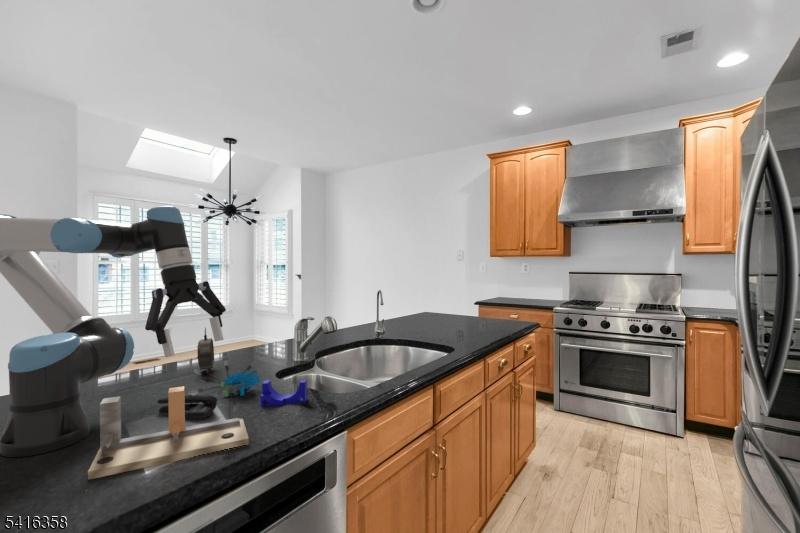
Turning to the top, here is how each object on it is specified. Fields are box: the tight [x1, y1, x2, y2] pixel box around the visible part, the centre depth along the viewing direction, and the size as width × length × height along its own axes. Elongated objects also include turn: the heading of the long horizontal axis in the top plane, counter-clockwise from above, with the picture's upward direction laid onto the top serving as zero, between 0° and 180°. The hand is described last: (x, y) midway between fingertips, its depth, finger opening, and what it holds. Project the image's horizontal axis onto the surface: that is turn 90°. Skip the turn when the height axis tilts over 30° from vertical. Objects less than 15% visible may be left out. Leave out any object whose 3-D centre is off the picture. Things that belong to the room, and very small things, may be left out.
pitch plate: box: [87, 396, 250, 481], centre depth 83 cm, size 28×12×12 cm, turn 118°
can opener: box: [156, 393, 218, 421], centre depth 102 cm, size 18×7×6 cm, turn 76°
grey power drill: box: [196, 327, 215, 375], centre depth 141 cm, size 11×5×16 cm, turn 22°
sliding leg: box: [167, 385, 186, 443], centre depth 84 cm, size 3×8×9 cm, turn 28°
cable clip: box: [260, 379, 308, 407], centre depth 110 cm, size 12×4×6 cm, turn 93°
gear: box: [220, 370, 261, 398], centre depth 116 cm, size 11×6×10 cm
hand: (196, 348), depth 97 cm, fingers open, 13 cm apart
